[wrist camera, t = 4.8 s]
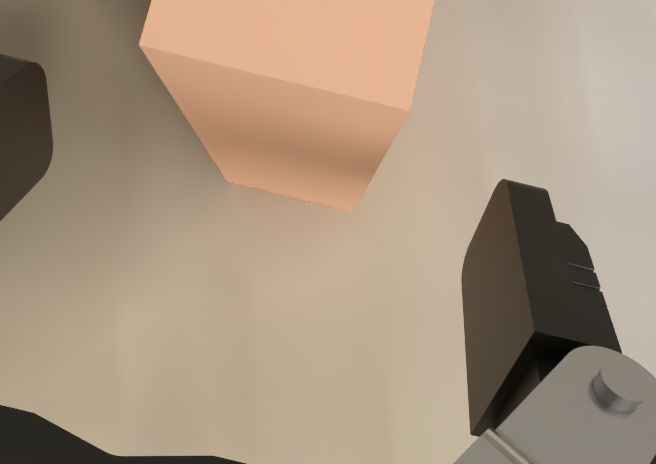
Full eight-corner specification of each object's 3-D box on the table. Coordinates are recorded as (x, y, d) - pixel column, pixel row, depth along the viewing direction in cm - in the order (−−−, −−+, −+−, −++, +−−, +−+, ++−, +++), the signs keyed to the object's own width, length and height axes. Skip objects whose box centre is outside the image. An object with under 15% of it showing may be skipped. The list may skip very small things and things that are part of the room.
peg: (227, 181, 18) (138, 44, 9) (258, 61, 19) (209, -201, 9) (352, 212, 19) (409, 111, 9) (381, 91, 19) (465, -137, 9)
